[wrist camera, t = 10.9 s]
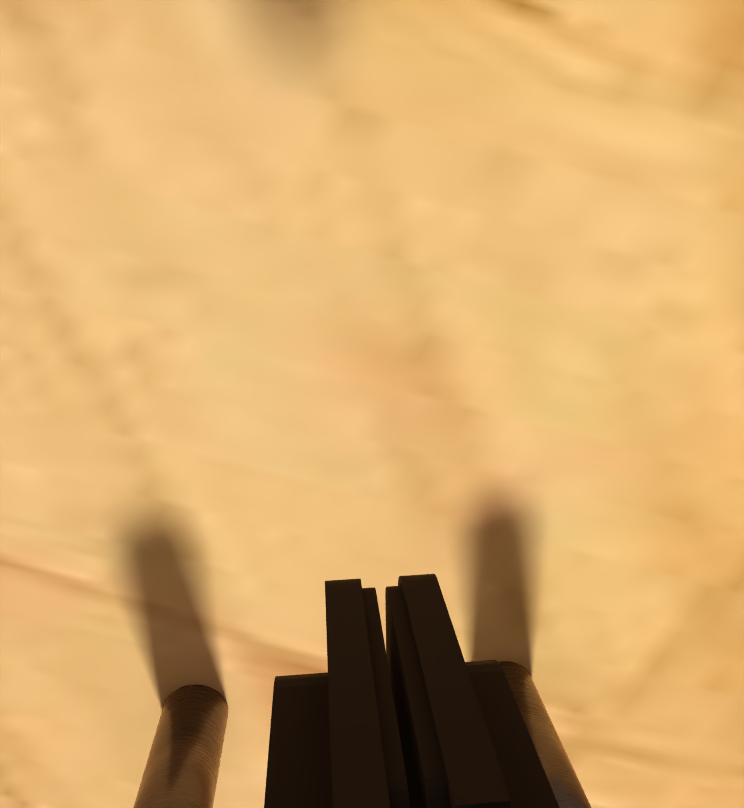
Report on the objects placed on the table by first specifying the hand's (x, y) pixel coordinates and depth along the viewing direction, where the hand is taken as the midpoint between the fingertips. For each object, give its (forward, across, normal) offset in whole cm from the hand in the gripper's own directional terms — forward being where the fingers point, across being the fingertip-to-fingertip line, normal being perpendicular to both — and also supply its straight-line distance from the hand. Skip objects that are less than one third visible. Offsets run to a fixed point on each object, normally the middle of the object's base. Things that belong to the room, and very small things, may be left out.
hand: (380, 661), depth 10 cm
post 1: (+14, +6, +13) cm, 20 cm away
